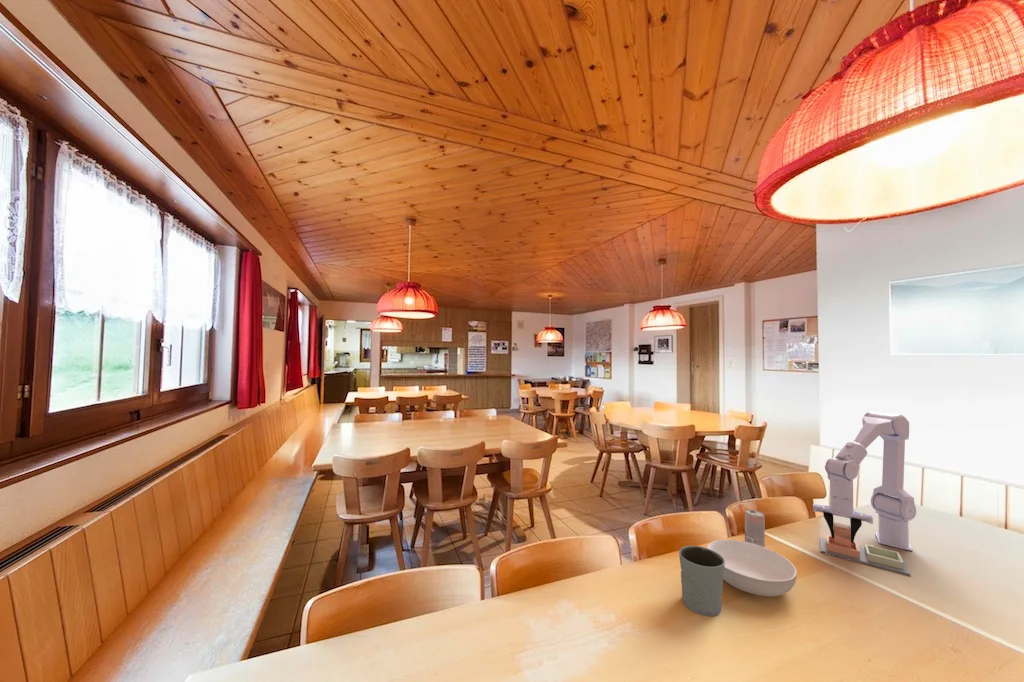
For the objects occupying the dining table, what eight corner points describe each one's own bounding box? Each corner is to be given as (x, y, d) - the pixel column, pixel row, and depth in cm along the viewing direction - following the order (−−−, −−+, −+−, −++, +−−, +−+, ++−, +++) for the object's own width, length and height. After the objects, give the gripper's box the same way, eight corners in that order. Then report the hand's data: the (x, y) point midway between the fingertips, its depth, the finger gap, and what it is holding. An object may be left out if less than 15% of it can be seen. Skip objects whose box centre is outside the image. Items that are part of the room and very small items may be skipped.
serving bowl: (697, 584, 102) (697, 558, 102) (716, 555, 118) (716, 532, 118) (793, 621, 88) (793, 590, 88) (800, 582, 104) (799, 556, 104)
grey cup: (720, 597, 96) (720, 549, 97) (729, 624, 87) (729, 570, 87) (677, 589, 99) (677, 542, 100) (680, 613, 90) (681, 561, 90)
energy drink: (758, 547, 123) (758, 509, 124) (768, 555, 118) (768, 516, 118) (741, 546, 124) (741, 508, 124) (750, 554, 118) (750, 515, 119)
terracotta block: (833, 540, 125) (833, 521, 125) (850, 544, 122) (849, 525, 122) (834, 544, 122) (834, 525, 122) (851, 549, 119) (850, 529, 119)
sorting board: (820, 538, 130) (819, 531, 130) (902, 559, 118) (902, 550, 118) (820, 552, 121) (820, 544, 121) (910, 576, 108) (910, 566, 108)
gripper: (813, 494, 124) (813, 536, 123) (873, 506, 115) (874, 551, 114) (812, 488, 130) (813, 529, 129) (871, 499, 120) (871, 543, 120)
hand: (842, 539), depth 122 cm, fingers closed on terracotta block, 4 cm apart
